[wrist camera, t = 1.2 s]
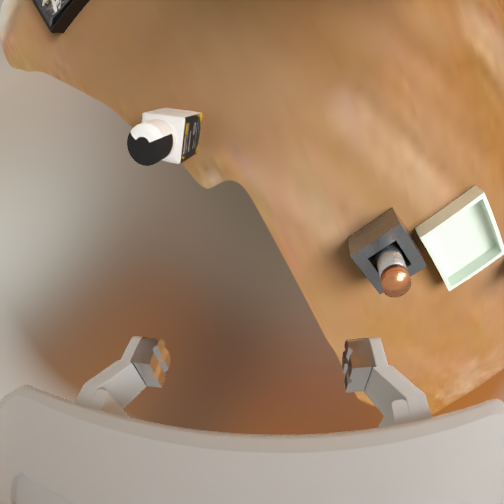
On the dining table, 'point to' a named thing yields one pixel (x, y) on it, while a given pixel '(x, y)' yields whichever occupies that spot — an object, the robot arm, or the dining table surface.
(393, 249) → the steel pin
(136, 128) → the medicine bottle
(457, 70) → the dining table surface
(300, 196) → the dining table surface
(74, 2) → the food platter
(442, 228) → the tray
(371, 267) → the block
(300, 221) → the dining table surface
